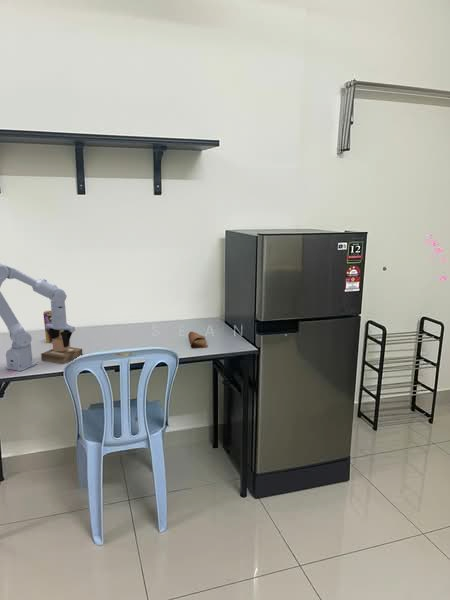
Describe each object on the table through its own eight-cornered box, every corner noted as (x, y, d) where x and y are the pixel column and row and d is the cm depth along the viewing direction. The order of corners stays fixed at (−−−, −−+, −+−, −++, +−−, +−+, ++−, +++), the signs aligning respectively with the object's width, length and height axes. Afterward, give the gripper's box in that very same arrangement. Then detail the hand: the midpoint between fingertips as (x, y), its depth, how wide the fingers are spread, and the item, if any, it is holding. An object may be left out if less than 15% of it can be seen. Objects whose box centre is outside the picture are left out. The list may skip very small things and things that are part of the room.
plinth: (63, 363, 187) (63, 357, 187) (41, 360, 192) (41, 353, 191) (82, 355, 198) (82, 348, 198) (61, 351, 203) (60, 345, 202)
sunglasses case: (209, 347, 208) (201, 336, 207) (196, 355, 208) (189, 344, 206) (204, 336, 226) (197, 326, 224) (193, 344, 225) (186, 333, 224)
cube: (62, 351, 191) (61, 340, 190) (53, 350, 193) (52, 339, 192) (70, 348, 196) (69, 337, 195) (61, 346, 197) (60, 336, 196)
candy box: (66, 339, 221) (64, 309, 218) (64, 342, 217) (62, 311, 214) (48, 340, 220) (45, 310, 217) (45, 342, 216) (43, 312, 213)
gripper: (78, 315, 192) (80, 345, 195) (52, 312, 197) (55, 341, 200) (67, 319, 186) (69, 350, 188) (40, 315, 191) (43, 346, 194)
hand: (61, 346), depth 194 cm, fingers closed on cube, 5 cm apart
